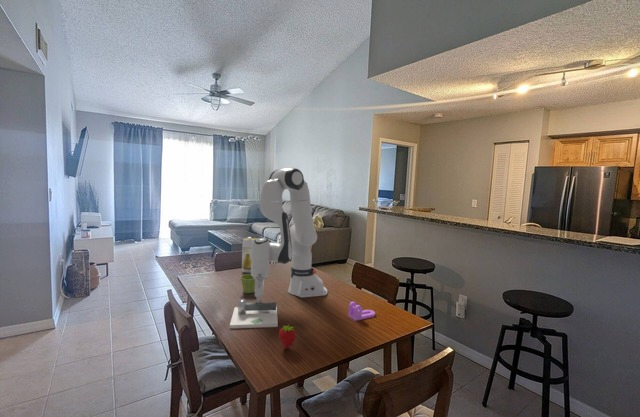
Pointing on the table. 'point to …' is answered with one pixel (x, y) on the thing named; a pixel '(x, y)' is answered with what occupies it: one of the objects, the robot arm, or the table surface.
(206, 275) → the table surface
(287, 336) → the strawberry
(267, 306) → the grey lever handle
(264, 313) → the dial board
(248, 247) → the juice carton
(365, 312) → the bracket
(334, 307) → the table surface
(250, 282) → the plant pot
